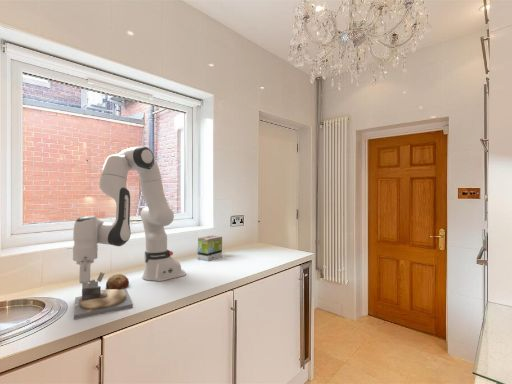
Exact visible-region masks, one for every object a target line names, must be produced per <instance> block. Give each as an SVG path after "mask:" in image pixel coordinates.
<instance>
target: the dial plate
mask: <svg viewBox="0 0 512 384" xmlns="http://www.w3.org/2000/svg"><path fill="white" fill-rule="evenodd" d="M122 290H123V291H125V292H126V298H125V299H124V300H123V301H122V302H120V303H118V304H116V305H113V306H109V307H105V308H98V309H86V308H82V307H80V306H79V299H80V298H81V297H82V295H81V296H75V298H74V308H73V309H74V310H73V320H78V319H83V318H88V317H94V316H98V315H105V314H108V313H113V312H119V311H123V310H128V309H133V306H134V304H133V302H132V299H131V296H130V294H129V292H128V289H127V288H123V289H122Z"/></svg>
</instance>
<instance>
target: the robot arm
mask: <svg viewBox="0 0 512 384" xmlns="http://www.w3.org/2000/svg"><path fill="white" fill-rule="evenodd" d="M135 170H136V171H137V173H138V180H139V186H140V190H141V191H140V192H141V196H142V198H143V199H144V202H145V204H146V206H144V207H143V208H142V209H141V211H140V218H141V220H142V223H143V224H142V225H143V230H144V235H145V251H144V263H145V265H144V270H143V275H142V279H143V280H145V281H155V282H162V281H167V280H172V279H175V278H176V279H177V278H181V277H184V276H185V275H186V271H185V270H184V269H182V265H181V263H180V262H179V261H178V260H176V259H175V258H174V257H172V256H173V255H174V252H173V251H172V250H169V249H168V235H167V233H166V231H165V227H166V226H169V225H171V223H172V222H173V221H174V218H175V215H174V214H175V213H174V211H173V210H172V209H171V208H170V206H169V203H168V201H167V198H166V195H165V191H164V188H163V187H164V185H163V182H162V176H161V172H160V169H159V165H158V163H157V162H156V161H155V157H154V153H153V152H152V149H150V148H149V147H146V146H133V147H132V146H131V147H129V148H125V149H121V150H119V151H117V152H116V153H115V154H111V155H109V156H107V158H106V159H105V162H104V164H103V167H102V170H101V174H100V178H99V188H100V190H101V192H102V193H103V194H105V195H106V196H108V197H110V198H112V199H113V200H114V202H115V204H116V207H115V209H116V210H115V221H114V222H108V221H106V222H104V221H102V220H100V219H98V218H97V217H96V215H85V216H80V217H78V218H77V219H76V220H75V221H74V226H73V233H72V234H73V235H72V237H73V238H72V239H73V243H74V244H73V248H72V260H73V261H74V262H75V264H76V265H79V279H78V280H79V284H81V286H82V288H81V290H82V289H85V288H87V284H88V282H90V280H91V265H92V264H94V263H95V260H97V259H98V252H99V251H98V247H99V246H98V244H102V245H108V246H109V245H111V246H115V247H122V246H124V245H125V244H126V243H127V242H128V241H129V240H130V237H131V225H130V221H131V219H130V218H131V216H130V215H131V213H130V212H131V193H130V190H128V187H127V181H128V176H129V175H128V173H129V171H135Z"/></svg>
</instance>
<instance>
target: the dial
mask: <svg viewBox="0 0 512 384" xmlns="http://www.w3.org/2000/svg"><path fill="white" fill-rule="evenodd" d="M81 296H82V297H81V298H80V299H79V306H80V307H82V308H86V309H98V308H105V307H109V306H113V305H116V304H118V303H120V302H122V301H123V300H124V299H125V298H126V292H125V291H123V289H120V290H118V289H101V285H98V287H91V288H85V289H82V288H81Z"/></svg>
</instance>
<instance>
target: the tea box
mask: <svg viewBox="0 0 512 384" xmlns="http://www.w3.org/2000/svg"><path fill="white" fill-rule="evenodd" d="M222 257H223V236H219V235H208V236H203V237H198V238H197V257H196V258H197V260H200V261H204V262H209V261H212V260H216V259H219V258H222Z"/></svg>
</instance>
